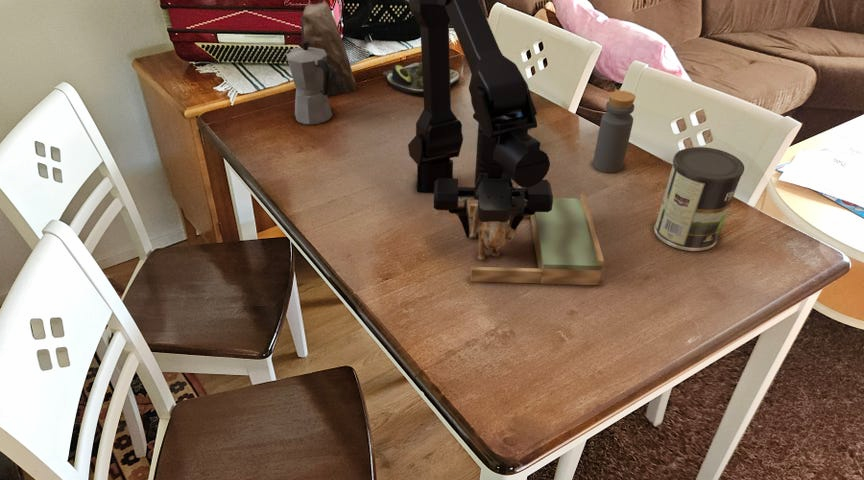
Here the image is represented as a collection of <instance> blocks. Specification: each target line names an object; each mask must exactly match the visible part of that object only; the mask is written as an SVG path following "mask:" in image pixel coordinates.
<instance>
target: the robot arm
mask: <svg viewBox="0 0 864 480" xmlns="http://www.w3.org/2000/svg"><path fill="white" fill-rule="evenodd" d="M408 6H409V10H410V13H411V14H412V15H413V17H414V19H416V22H417V23H418V25H419V28H420V29H419V30H420V51H421V52H420V53H421V62H422V74H423V95H424V96H423V109H422V112H421V113H420V116H419V117H418V119H417V121H416V124H415V136H414V137H413V138H412V139H411V140H410V141H409V143H408V144H407V148H408V155H409V158H411V160H413V162H414V163H415V164H416V177H417V179H416V188H415V189H416V192H420V193H433V209H434V210H436V211H448V213H449V214H452V215H453V214H455V215H456V216H457V218H458V219H459V221H460V223H461V225H462V228H463V231H464V233H465V237H466V238H470V237H469V235H470V234H471V229H470V215H469V207H468V206H469V205H468V201H477V204H478V219H479V220H480V221H482V222H488V221H498V222H507V223H508V224H509V225H510V227H511V228H512V229H514V230H516V231H517V228H518V226H519V225H520V223H521V222H522V220H523V219H525V218H524V217H525V216H528V215H534V214H535V212H550V211H551V210H552V205H553V198H554V194H553V191H552V185H551V182H550V181H549V180H548V179H545V177H546V176H547V174H548V172H549V170H550V168H551V167H550V166H551V161H550V157H549V156H548V153H546V151H543V149H541V141H539V139H536V138H535V137H533V136H532V135H530V134H529V133H528V132H529V130H531V129H536V128H537V127H538V122H537V115H538V112H537V110H536V107H535V105H534V102H533V99H532V96H531V92H530V88H529V85H528V82H527V80H526V79H525V78H524V76H523V74H522V72H521V70H520V69H519V67H518V66H517V64H516V63H515V62H514V61H512V60H510V59H509V58H508V57H506V56H505V55H504V54H503V52H502V51H501V50H500V46H499V45H498V42H497V40H496V38H495V35H494V32H493V30H492V27H491V26H490V23H489V20H488V18H487V16H486V14H485V11H484V9H483V7H482V3H481V2H480V0H408ZM450 24H451V26H452V28H453V30H454V33H455V35H456V38H457V41H458V43H459V46H460V47H461V50H462V53H463V55H464V58H465V60H466V63H467V65H468V67H469V71H470V78H469V79H470V80H469V84H468V91H469V94H470V102H471V106H472V109H473V111H474V113H473V114H472V118H473V120H475V121H476V122H477V123H478V125H477V140H476V154H475V155H476V156H475V158H476V159H475V171H474V186H459V178H454V177H453V176H454V160H453V158H458V157H459V156H460V153H461V149H462V146H463V141H464V135H463V132H462V130H463V123H462V122H461V120H459V119H458V118H457V116H456V115H455V113H454V112H453V111H452V101H451V100H452V99H451V96H452V95H451V94H452V93H451V85H450V70H451V58H450V57H451V55H450V54H451V53H450ZM518 112H522V115H523V116H520V117H515V118H511V119H508V118H507V117H505V115H509V114H514V113H518ZM513 182H514V183H515V184H516V185H517V187H516V186H514V184H513Z"/></svg>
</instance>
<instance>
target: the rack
mask: <svg viewBox="0 0 864 480" xmlns="http://www.w3.org/2000/svg"><path fill="white" fill-rule="evenodd" d="M477 204H478V203H471V202H470V203H469V218H473V213H474V209H475V207H476V205H477ZM523 219H530V225H531V230H532V236H533V237H532V238H533V244H534V249H535V250H534V251H535V256H536V263H537V268H536V267H535V268H533V267H532V268H531V267H500V266H499V267H495V266H471V269H470V282H479V283H480V282H485V283H514V284H515V283H516V284H517V283H518V284H541V285H543V284H545V285H546V284H547V285H574V286H575V285H580V286H599V284H600V278H601V275H602V270H603V268H604V262H605V260H604V256H603V253H602V249H601V245H600V242H599V238H598V235H597V232H596V231H597V230H596V228H595V224H594V221H593V217H592V214H591V210H590V205H589V203H588V200H587V196H586V194H585V193H580V194H579V198H577V197H576V198H575V197H574V198H572V197H553V205H552V210H551V211H550V212H535V214H534V215H528V216H525V217H524V218H523Z"/></svg>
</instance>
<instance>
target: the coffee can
mask: <svg viewBox="0 0 864 480" xmlns="http://www.w3.org/2000/svg"><path fill="white" fill-rule="evenodd" d="M744 172H745V164H744V163H743V161H741V159H740V158H738V157H737V156H735V155H733V154H732V153H729V152H727V151H724V150H721V149H717V148H712V147H705V146H693V147H692V146H691V147H686V148H683V149H681V150H680V149H679V151H677V152H676V153H675V154H674V156H673V159H672V166H671V170H670V173H669V176H668V179H667V183H666V187H665V190H664V194H663V197H662V201H661V205H660V208H659V211H658V215H657V219H656V222H655V224H654V226H653V230H654V234H655V236H656V237H657V239H659V240H660V241H662V242H663V243H664V244H666V245H668V246H670V247H672V248H674V249H678V250H681V251H687V252H702V251H707V250H710V249H712V248H713V247H715V246H716V245H717V243H718V241H719V236H720V234H721V230H722V228H723V226H724V222H725V220H726V217H727V215H728V213H729V209H730V208H731V207H730V206H731V204H732V201H733V200H734V196H735V193H736V191H737V188H738V185H739V183H740V180H741V177H743V174H744Z"/></svg>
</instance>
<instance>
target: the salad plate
mask: <svg viewBox="0 0 864 480" xmlns="http://www.w3.org/2000/svg"><path fill="white" fill-rule="evenodd" d="M382 75H384V76H386V81H387V82H388V84H389V85H390V86H391V88H393V89H394V90H397V91H399V92H401V93H404V94H407V95H411V96H417V97H424V95H423V74H422V61H420V62H413V63H411V64H409V65H408V64H407V66H402V65H400V64H395V65H394V66H393V68H392V69H391V70H385V71H384V72H383V73H382ZM459 78H460V74H459V72H458V71H456V70H453V69H450V86H451V85H452V84H453V83H455V82H456V81H458V80H459Z"/></svg>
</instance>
